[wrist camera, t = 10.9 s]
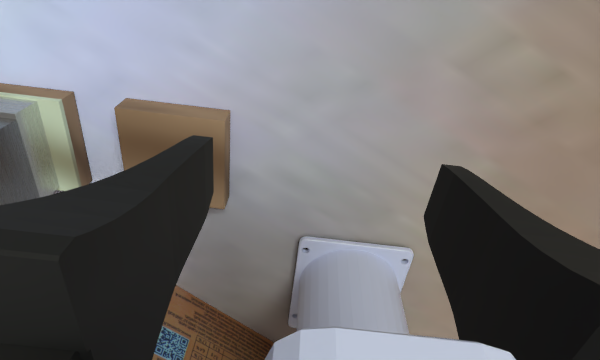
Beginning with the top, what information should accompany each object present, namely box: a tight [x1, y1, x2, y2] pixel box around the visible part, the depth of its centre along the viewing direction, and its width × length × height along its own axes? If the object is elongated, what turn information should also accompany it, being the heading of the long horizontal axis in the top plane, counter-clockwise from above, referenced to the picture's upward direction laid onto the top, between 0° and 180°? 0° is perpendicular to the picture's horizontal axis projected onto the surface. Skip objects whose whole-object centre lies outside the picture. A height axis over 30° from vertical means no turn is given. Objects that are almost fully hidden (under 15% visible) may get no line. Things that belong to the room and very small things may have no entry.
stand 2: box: [114, 98, 230, 209], centre depth 23 cm, size 6×6×2 cm
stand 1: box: [0, 83, 92, 191], centre depth 23 cm, size 6×6×2 cm
